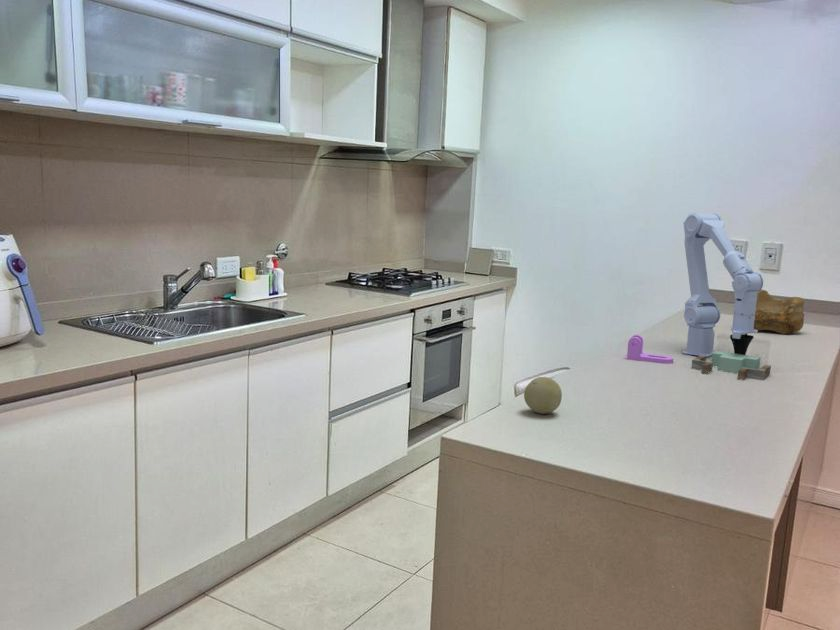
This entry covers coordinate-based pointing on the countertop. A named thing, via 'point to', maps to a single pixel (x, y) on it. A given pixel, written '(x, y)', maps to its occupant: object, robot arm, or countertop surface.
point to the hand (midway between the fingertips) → (739, 359)
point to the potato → (543, 395)
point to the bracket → (636, 353)
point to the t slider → (734, 361)
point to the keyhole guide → (742, 373)
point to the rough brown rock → (778, 314)
